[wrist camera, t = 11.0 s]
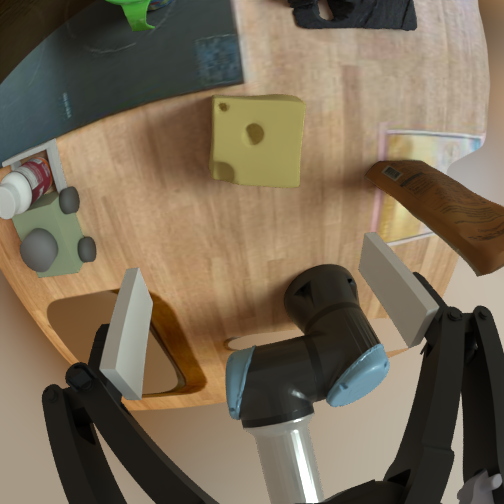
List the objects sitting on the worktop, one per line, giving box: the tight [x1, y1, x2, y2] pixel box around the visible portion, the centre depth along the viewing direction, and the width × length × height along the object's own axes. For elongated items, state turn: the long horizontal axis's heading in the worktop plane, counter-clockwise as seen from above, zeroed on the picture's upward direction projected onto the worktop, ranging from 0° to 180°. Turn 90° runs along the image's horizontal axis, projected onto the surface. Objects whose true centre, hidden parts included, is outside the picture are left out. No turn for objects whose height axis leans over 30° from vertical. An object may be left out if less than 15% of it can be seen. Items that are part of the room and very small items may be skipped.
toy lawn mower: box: [2, 139, 96, 278], centre depth 32 cm, size 21×12×9 cm, turn 3°
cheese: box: [209, 94, 306, 188], centre depth 31 cm, size 10×11×10 cm
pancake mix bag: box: [364, 161, 504, 276], centre depth 31 cm, size 7×19×28 cm, turn 96°
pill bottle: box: [0, 157, 53, 219], centre depth 28 cm, size 6×6×11 cm
